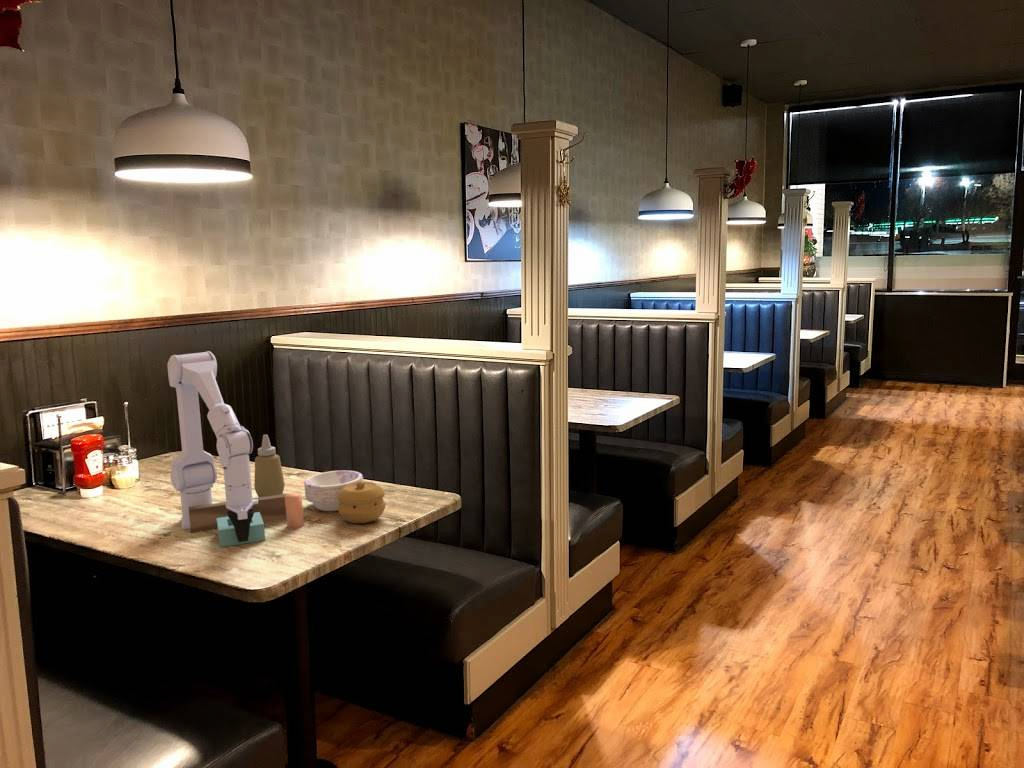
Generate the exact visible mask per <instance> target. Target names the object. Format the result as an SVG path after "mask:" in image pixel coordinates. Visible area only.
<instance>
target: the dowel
mask: <svg viewBox="0 0 1024 768" xmlns="http://www.w3.org/2000/svg"><path fill="white" fill-rule="evenodd" d="M285 494H286V495H285V506H286V518H287V519H286V527H287V528H288V529H300V528H302V527H304V526H305V521H304V508H303V495H302V493H300V492H290V493H285Z"/></svg>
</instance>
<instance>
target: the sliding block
mask: <svg viewBox="0 0 1024 768" xmlns="http://www.w3.org/2000/svg"><path fill="white" fill-rule="evenodd" d="M216 519H217V529H216V530H217V537H218V541H219V547H220V548H223V547H230V546H237V545H243V544H244V545H245V544H249V543H256V542H261V541H262V542H263V541H266V534H265V533H266V532H265V530H266V529H265V522H263V520H262V517H261V514H260V512H256V513H254V515H253V517H252V520H251V523H250V529H249V538H248V541H244V542H238V539H237V536H236V532H235V529H234V526H233V524H232V522H231V520H230V519H229V517H228V516H227V517H220V518H216Z"/></svg>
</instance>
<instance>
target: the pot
mask: <svg viewBox="0 0 1024 768" xmlns="http://www.w3.org/2000/svg"><path fill="white" fill-rule="evenodd" d="M337 496H338V498H337V499H338V500H339V501H340V504H339V506H338V511H337V512H338V513H339V515H340V516H341V518H342V519H343V520H345V521H346V522H348V523H353V524H367V523H370V522H374V521H376V520H377V519H380V517H381V516H382V515H383V513H384V512H385V509H386V505H387V503H386V502H385V500H384V497H385V496H386V494H385V490H384V488H383V487H382V486H381V485H379V484H377V483H374V482H371V481H368V482H367V481H365V482H364V481H363V482H362V481H359V482H357V483H353V484H349V485H347V486H345V487H343V488H342V489H341V490H340V492H339V493H338V495H337Z"/></svg>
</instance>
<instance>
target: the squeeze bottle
mask: <svg viewBox="0 0 1024 768" xmlns="http://www.w3.org/2000/svg"><path fill="white" fill-rule="evenodd" d="M270 441H271V440H270V437H269V435H268V434H263V435H262V441H261V447H259V448H257V456H256V457H255V458H254V482H253V486H254V490H255V491H254V492H256V495H257V498H259V497H266V496H274V495H281V494H284V489H285V486H286V484H285V480H284V479H285V478H284V475H283V474H284V473H283V469H282V462H281V456H280V455H278V454H277V453H276V452H277V451H276V447H275V446H272V445H271V442H270Z"/></svg>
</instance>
